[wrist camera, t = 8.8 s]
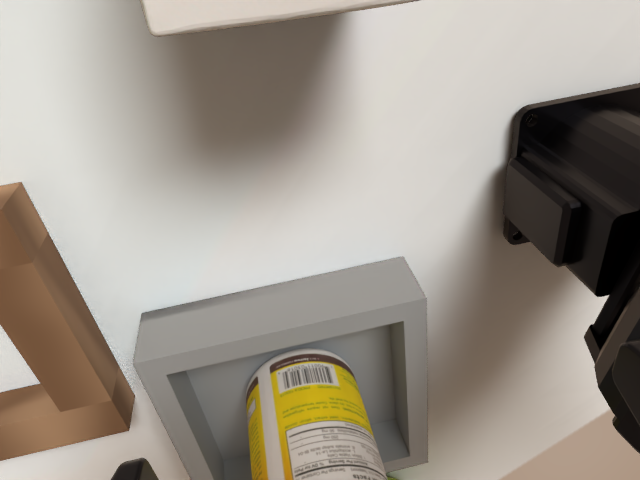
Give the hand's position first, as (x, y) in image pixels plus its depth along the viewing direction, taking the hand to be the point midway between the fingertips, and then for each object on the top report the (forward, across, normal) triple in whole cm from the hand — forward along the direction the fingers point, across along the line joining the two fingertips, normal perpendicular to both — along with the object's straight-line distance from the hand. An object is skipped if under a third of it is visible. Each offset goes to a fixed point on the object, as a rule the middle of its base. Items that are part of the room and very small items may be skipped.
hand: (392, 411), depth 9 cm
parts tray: (+12, +2, +12) cm, 17 cm away
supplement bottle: (+12, +2, +12) cm, 17 cm away
